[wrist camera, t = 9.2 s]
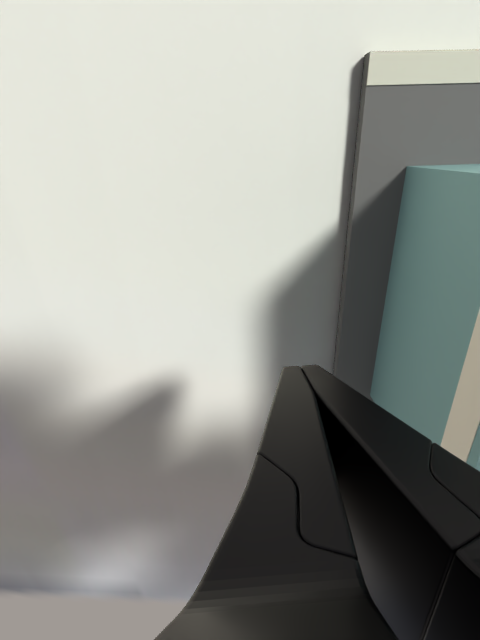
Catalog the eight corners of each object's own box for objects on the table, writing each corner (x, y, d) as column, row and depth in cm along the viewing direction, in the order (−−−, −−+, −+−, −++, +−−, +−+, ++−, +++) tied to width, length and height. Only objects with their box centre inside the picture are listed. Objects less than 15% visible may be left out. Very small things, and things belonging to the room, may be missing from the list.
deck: (498, 163, 12) (742, 177, 6) (438, 390, 16) (557, 520, 10) (406, 166, 12) (574, 183, 6) (369, 395, 15) (452, 528, 10)
